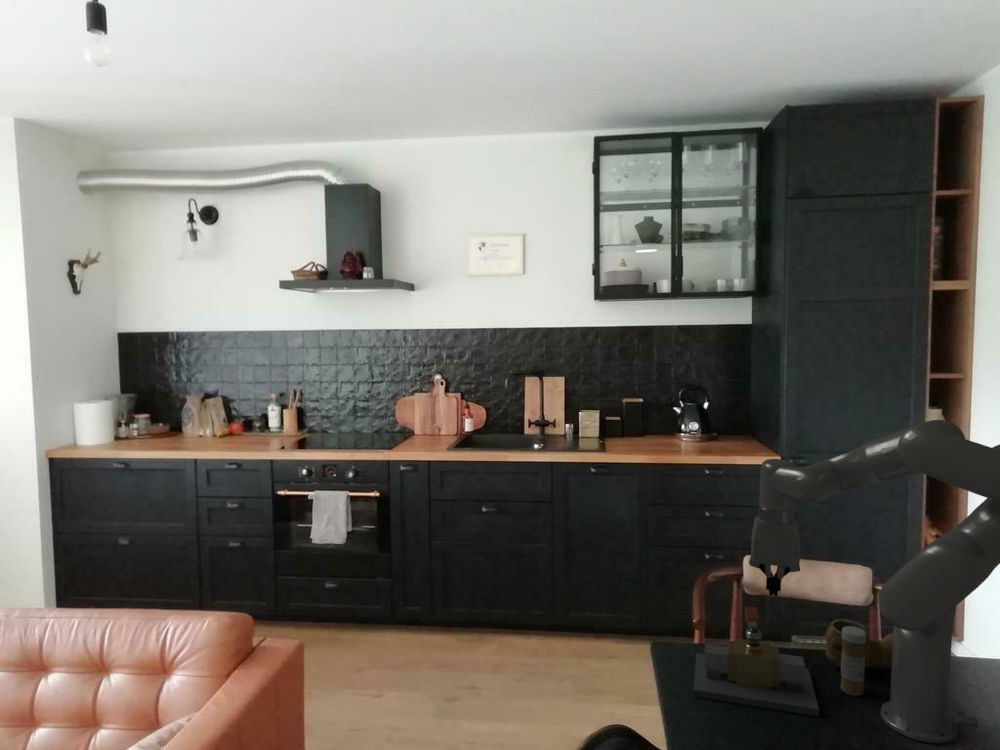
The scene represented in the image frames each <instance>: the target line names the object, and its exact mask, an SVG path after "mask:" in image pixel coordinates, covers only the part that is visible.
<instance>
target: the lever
mask: <svg viewBox="0 0 1000 750" xmlns="http://www.w3.org/2000/svg"><path fill="white" fill-rule="evenodd" d="M744 615H745V625H747V627H748V628H746V629H745V637H746V638H747V640H748V639H751V640H760V641H761V640H762V637H763V636H762V635H763V634H762V631H761V630H760V629H759V627H758V626H759V622H760V621H759V612H758V607H755V606H747V605H745V606H744Z"/></svg>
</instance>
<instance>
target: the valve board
mask: <svg viewBox="0 0 1000 750" xmlns="http://www.w3.org/2000/svg"><path fill="white" fill-rule="evenodd" d="M704 662H705V653H699V652H696V653H695V665H694V681H693V682H694V683H693V697H696V698H702V699H707V700H708V699H709V700H714V701H719V702H720V701H721V702H725V703H726V702H727V703H731V704H733V703H734V704H737V705H738V704H739V705H744V706H752V707H757V708H764V709H770V710H776V711H783V712H787V713H795V714H801V715H805V716H814V717H819V716H820V708H819V704H818V700H817V697H816V693H815V689H814V684H813V680H812V677H811V674H810V669H809V668H806V667H805V683H804V685H803V684H802V692H796V691H789V690H786V685H785V682H783V681H780V684H779V688H776V687H771V690H766V689H760V688H753V687H747V686H740V685H736V681H730V680H728V673H722V672H721V680H717V679H710V678H707V670H704Z"/></svg>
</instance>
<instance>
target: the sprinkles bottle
mask: <svg viewBox="0 0 1000 750" xmlns="http://www.w3.org/2000/svg"><path fill="white" fill-rule="evenodd" d="M865 643H866V632H865V631H864V630H862V629H860V628H857V627H853V626H846V627H843V628H842V659H841V668H840V676H841V677H840V686H839V688H840V689H841V691H842V692H844V693H845V694H847V695H849V696H854V697H855V696H856V697H860V696H862V695H864V693H865V691H864V683H865V682H864V681H865V672H866V671H865V670H866V667H865Z"/></svg>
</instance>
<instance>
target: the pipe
mask: <svg viewBox="0 0 1000 750" xmlns="http://www.w3.org/2000/svg"><path fill="white" fill-rule="evenodd" d="M846 626H853V627H857V628H860V629H862V630H864V631H865V632H866V643H865V668H868V669H887V670H890V671H891V668H892V644H893V631H892V632H890V633H888V634H886V636H884V637H883V638H882V639H880V640H878V639H870V637H869V632H868V629H867V628H866V627H867V626H865V625H863V624H862V623H859V622H857V621H854V620H850V619H835V620H832V621H831V622H830V624H829V627H828V628H827V629H826V632H825V654H826V657H827V660H828V661H829V662H830V663H831V664H832V665H835V666H836V667H839V668H840V669H841V659H842V628H843V627H846Z"/></svg>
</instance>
